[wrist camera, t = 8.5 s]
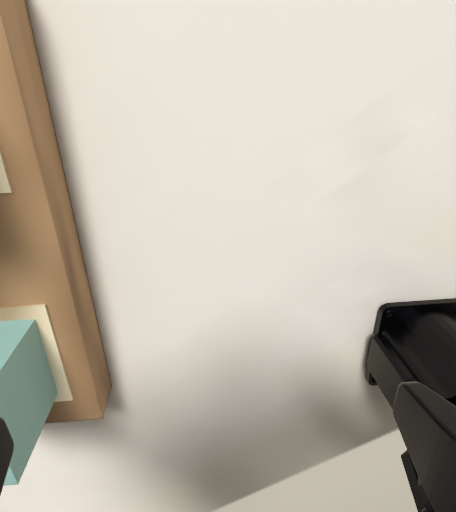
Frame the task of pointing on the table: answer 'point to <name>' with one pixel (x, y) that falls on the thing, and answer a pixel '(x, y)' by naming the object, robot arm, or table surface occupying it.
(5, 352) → the teal cube
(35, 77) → the base slab
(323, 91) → the table surface
